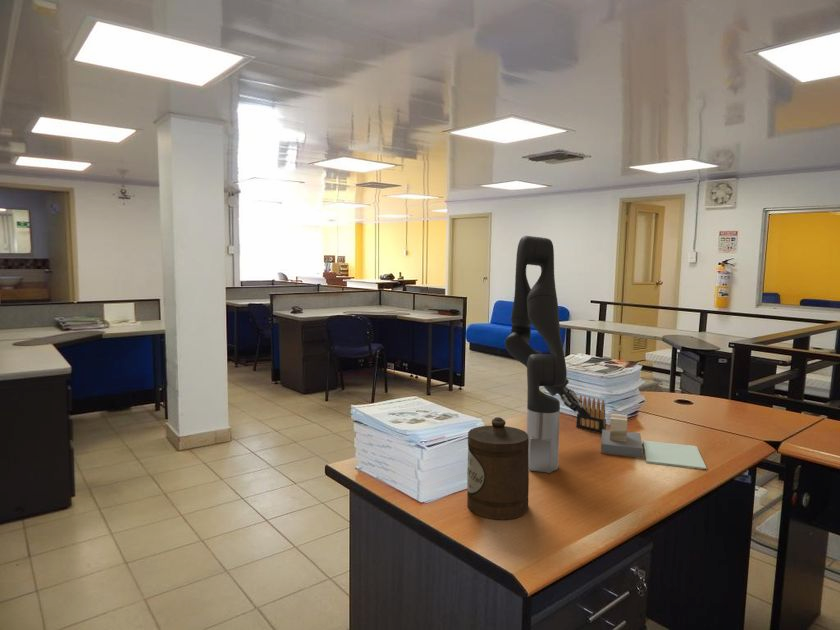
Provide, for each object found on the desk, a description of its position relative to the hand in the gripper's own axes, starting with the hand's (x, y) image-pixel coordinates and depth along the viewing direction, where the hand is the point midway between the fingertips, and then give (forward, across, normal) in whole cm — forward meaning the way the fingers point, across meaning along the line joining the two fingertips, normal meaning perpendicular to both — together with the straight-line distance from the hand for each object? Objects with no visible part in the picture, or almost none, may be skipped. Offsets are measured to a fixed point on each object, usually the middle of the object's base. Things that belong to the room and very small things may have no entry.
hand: (588, 417), depth 176 cm
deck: (+14, 0, -1) cm, 14 cm away
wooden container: (-7, -56, +19) cm, 60 cm away
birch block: (+11, 0, -3) cm, 11 cm away
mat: (+24, -2, -12) cm, 27 cm away
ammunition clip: (+7, +16, +6) cm, 18 cm away
